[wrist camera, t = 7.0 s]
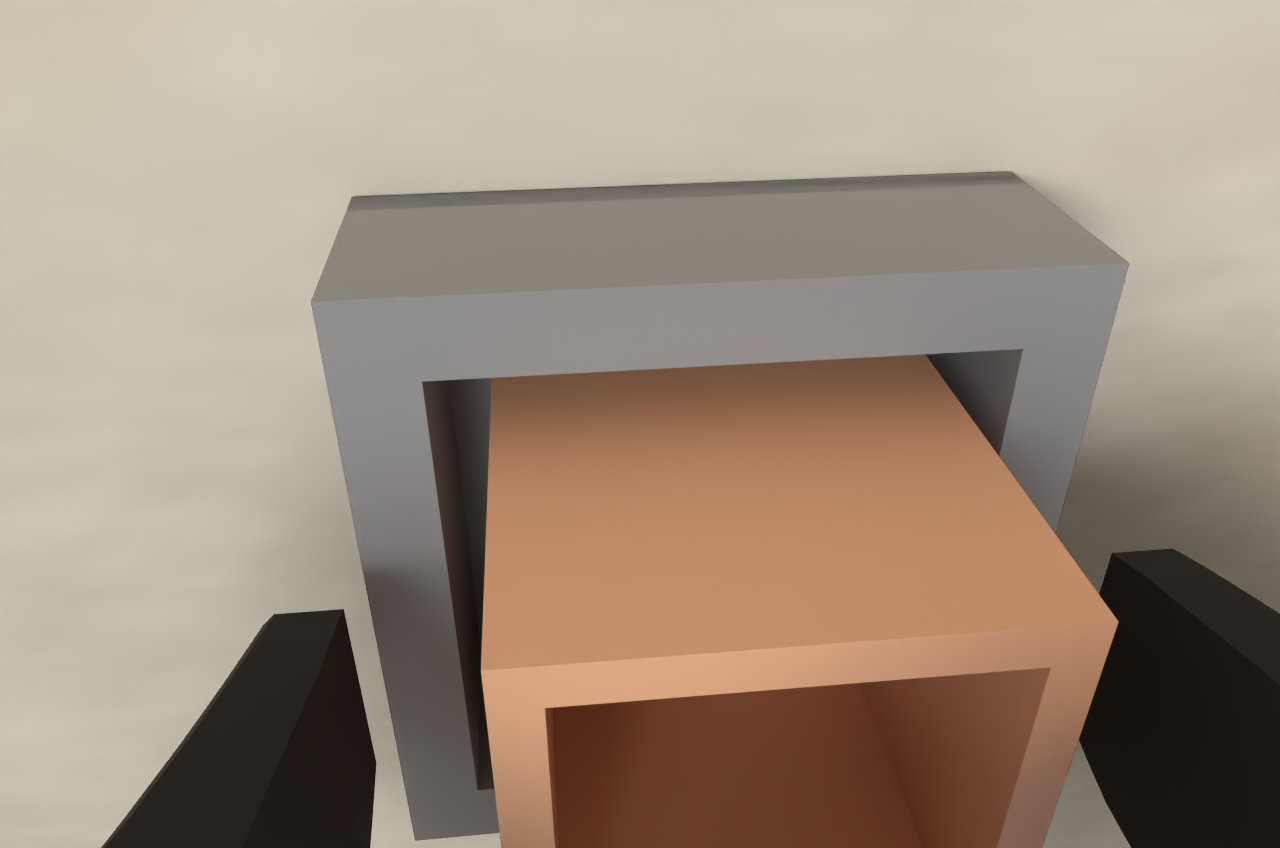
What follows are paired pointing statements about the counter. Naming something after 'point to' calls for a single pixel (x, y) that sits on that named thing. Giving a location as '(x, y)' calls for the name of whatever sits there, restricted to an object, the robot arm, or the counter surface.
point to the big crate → (661, 365)
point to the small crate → (773, 614)
